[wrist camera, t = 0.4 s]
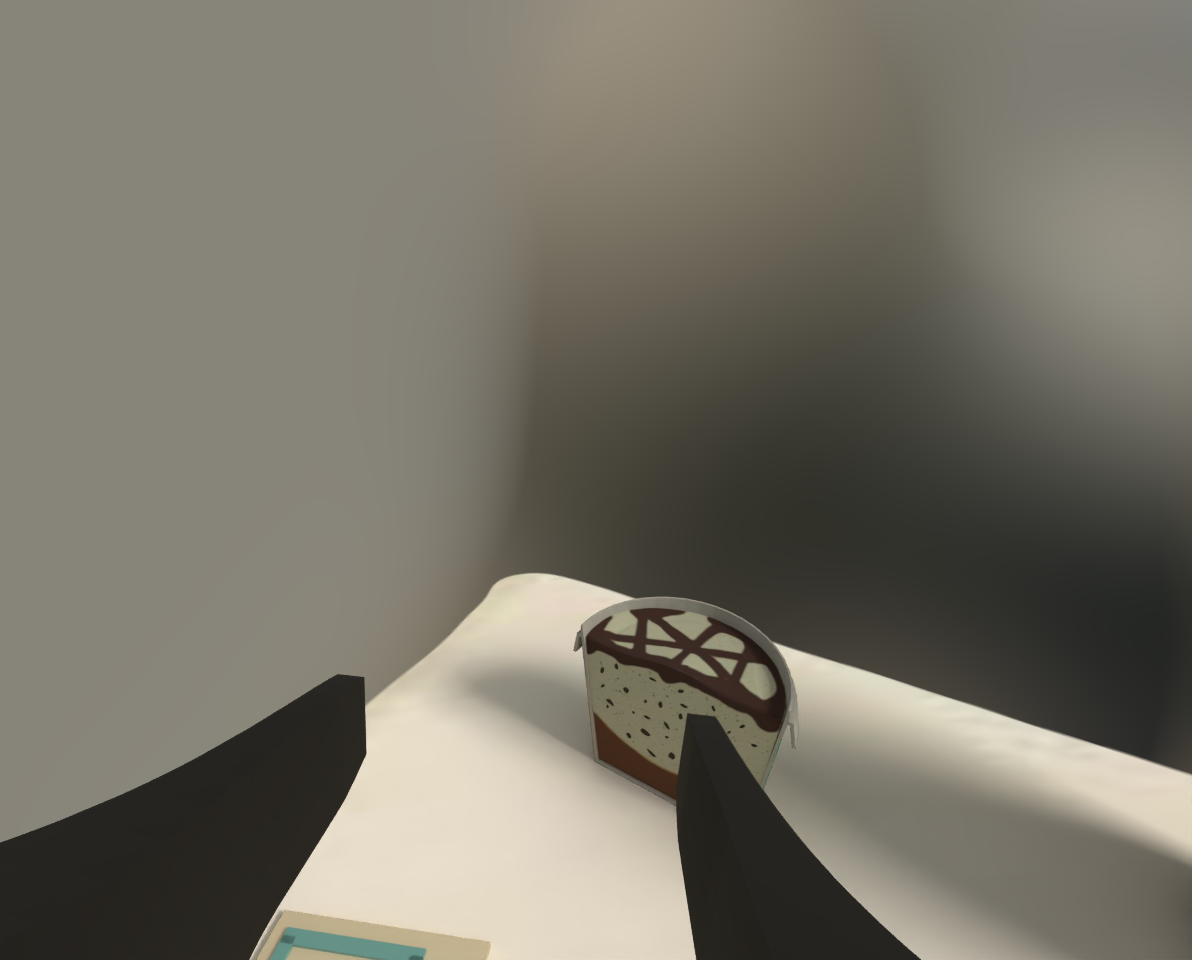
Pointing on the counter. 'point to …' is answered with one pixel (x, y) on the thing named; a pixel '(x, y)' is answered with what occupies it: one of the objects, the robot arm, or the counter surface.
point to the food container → (681, 687)
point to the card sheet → (361, 941)
